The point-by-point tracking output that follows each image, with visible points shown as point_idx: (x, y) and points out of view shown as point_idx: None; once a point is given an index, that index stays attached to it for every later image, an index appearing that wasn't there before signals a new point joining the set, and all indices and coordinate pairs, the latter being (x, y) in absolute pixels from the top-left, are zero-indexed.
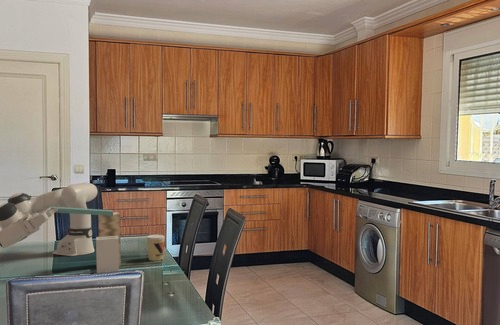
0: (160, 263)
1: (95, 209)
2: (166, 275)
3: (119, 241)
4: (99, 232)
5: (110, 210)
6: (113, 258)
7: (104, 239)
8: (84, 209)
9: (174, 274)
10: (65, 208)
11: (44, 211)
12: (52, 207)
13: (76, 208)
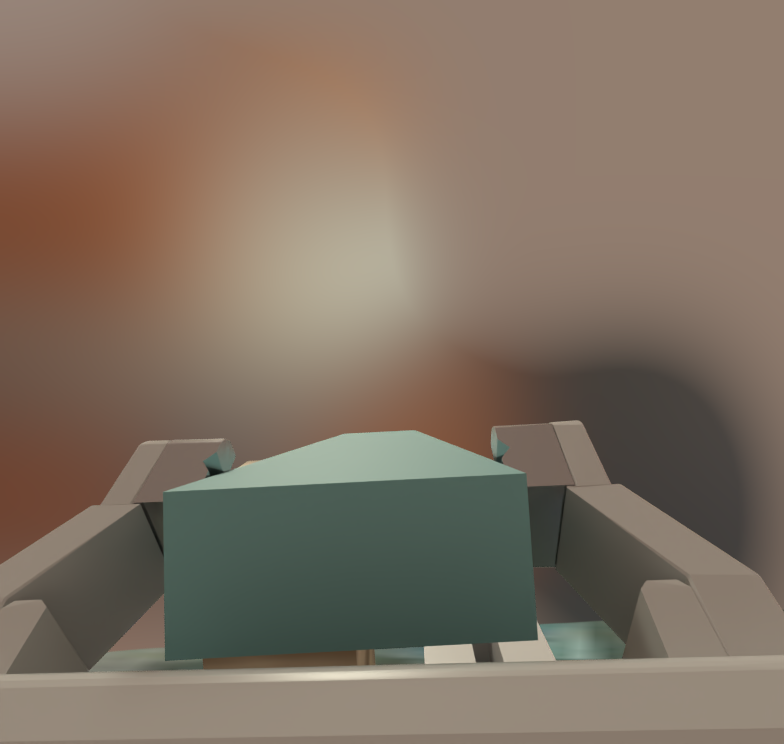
0: (404, 662)
1: (345, 437)
2: (617, 652)
3: (373, 649)
4: (356, 650)
5: (359, 433)
6: None
7: (548, 646)
8: (394, 438)
9: (601, 633)
10: (420, 449)
11: (693, 732)
12: (394, 474)
13: (342, 445)
